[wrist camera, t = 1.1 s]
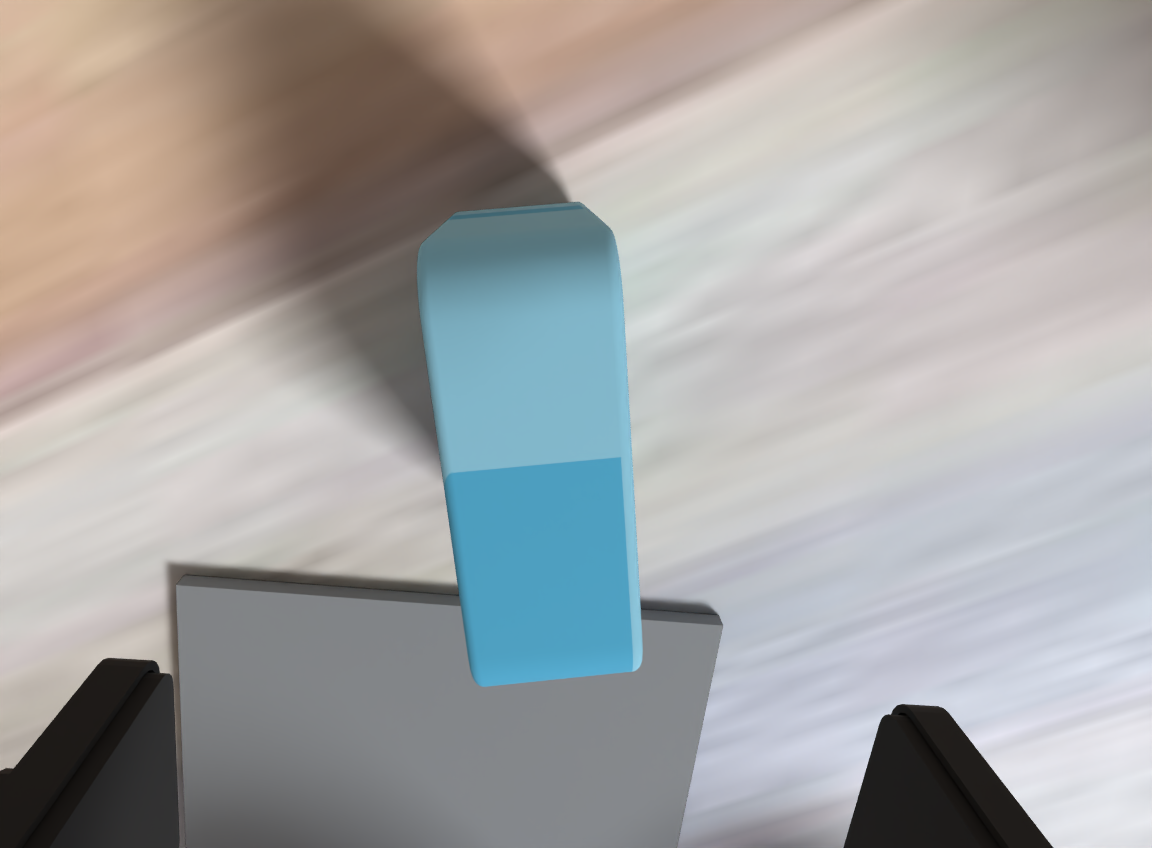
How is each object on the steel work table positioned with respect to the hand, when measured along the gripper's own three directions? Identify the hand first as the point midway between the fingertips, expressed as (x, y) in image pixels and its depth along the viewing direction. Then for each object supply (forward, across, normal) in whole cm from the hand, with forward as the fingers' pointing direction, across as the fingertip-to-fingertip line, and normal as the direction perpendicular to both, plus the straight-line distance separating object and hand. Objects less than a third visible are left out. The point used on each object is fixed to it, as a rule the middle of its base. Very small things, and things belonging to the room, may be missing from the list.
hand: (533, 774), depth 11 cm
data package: (+21, 0, 0) cm, 21 cm away
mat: (+21, +2, +18) cm, 28 cm away
